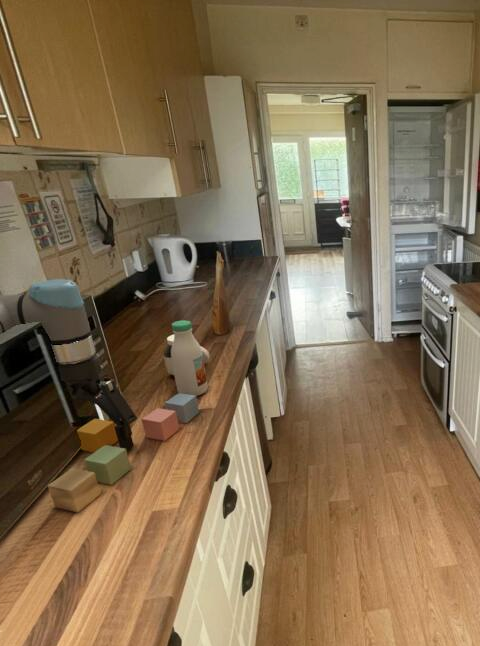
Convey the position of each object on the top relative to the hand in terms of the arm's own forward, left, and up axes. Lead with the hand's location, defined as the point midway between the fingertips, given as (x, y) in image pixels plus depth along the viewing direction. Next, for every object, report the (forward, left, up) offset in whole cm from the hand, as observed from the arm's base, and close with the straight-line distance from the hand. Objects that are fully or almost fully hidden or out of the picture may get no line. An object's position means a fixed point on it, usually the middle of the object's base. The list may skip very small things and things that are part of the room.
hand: (101, 444), depth 95 cm
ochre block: (0, 0, 0) cm, 0 cm away
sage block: (+10, -8, 0) cm, 12 cm away
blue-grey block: (+10, +15, 0) cm, 18 cm away
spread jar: (-5, +38, 0) cm, 38 cm away
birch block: (+10, -15, 0) cm, 18 cm away
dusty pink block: (+10, +7, 0) cm, 12 cm away
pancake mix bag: (-16, +73, 0) cm, 75 cm away
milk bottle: (+4, +27, 0) cm, 27 cm away
